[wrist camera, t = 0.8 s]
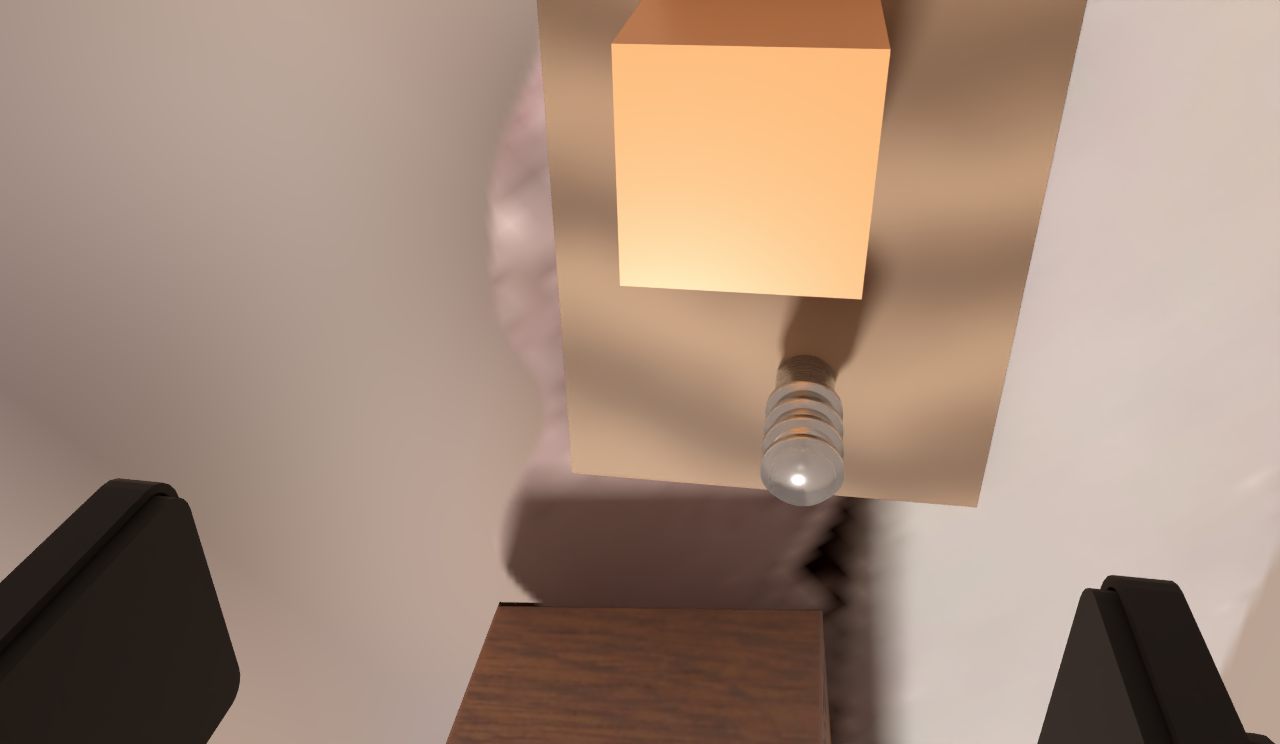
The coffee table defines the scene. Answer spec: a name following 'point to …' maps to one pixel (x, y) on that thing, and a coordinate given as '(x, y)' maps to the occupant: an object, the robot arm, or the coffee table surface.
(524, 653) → the tissue box cover
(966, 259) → the tan wooden board
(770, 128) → the orange wooden cube
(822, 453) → the threaded post
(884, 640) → the coffee table surface
